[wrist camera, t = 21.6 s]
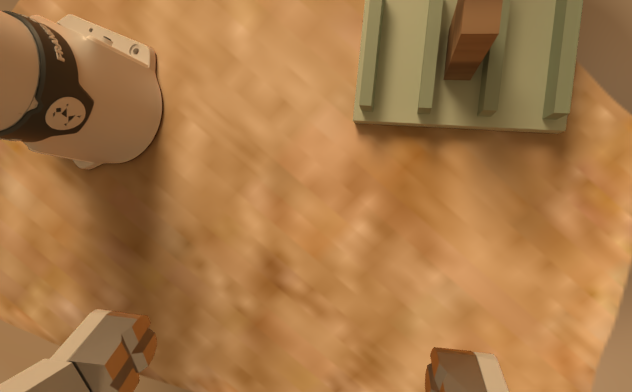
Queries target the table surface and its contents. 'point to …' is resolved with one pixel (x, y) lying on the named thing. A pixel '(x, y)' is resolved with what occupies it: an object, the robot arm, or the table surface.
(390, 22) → the rack
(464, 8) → the block
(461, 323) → the table surface
